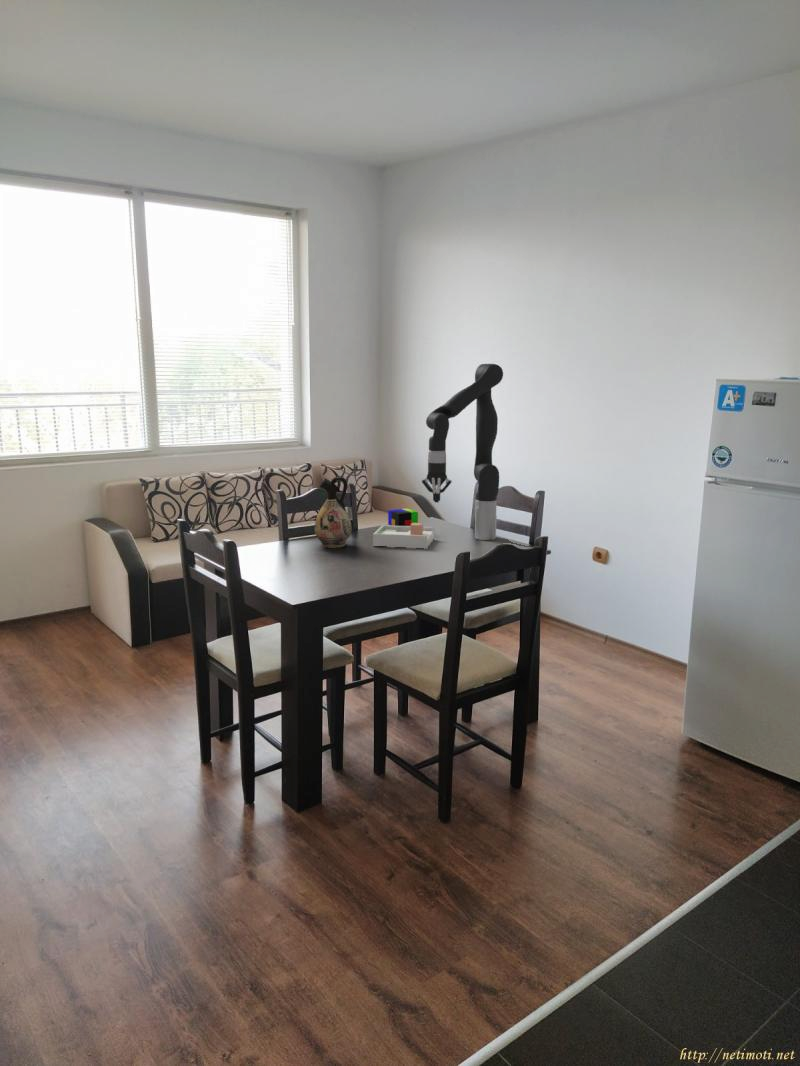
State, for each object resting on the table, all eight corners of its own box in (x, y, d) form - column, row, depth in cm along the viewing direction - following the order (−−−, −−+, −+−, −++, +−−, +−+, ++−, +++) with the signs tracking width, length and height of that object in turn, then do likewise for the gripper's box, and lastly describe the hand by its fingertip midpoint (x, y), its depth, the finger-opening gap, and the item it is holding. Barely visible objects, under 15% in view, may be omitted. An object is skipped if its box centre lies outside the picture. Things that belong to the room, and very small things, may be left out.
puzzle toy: (388, 531, 352) (388, 510, 350) (407, 529, 357) (407, 508, 355) (398, 535, 344) (398, 513, 342) (417, 533, 348) (417, 511, 346)
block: (422, 533, 329) (422, 523, 328) (420, 535, 325) (420, 525, 324) (412, 533, 330) (412, 522, 329) (410, 535, 326) (410, 524, 325)
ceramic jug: (313, 550, 316) (312, 478, 310) (316, 542, 331) (314, 473, 325) (355, 550, 317) (354, 478, 310) (355, 541, 332) (354, 473, 325)
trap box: (433, 539, 336) (433, 527, 335) (426, 548, 318) (427, 536, 317) (382, 537, 340) (382, 525, 339) (373, 546, 323) (373, 533, 322)
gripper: (453, 460, 321) (453, 501, 325) (422, 459, 324) (422, 500, 328) (451, 462, 314) (450, 504, 318) (419, 461, 317) (419, 503, 320)
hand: (436, 502), depth 323 cm, fingers closed
